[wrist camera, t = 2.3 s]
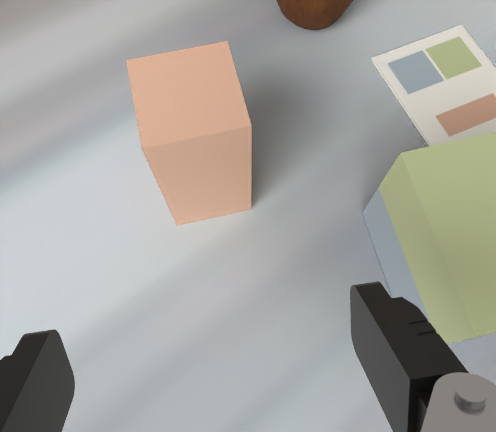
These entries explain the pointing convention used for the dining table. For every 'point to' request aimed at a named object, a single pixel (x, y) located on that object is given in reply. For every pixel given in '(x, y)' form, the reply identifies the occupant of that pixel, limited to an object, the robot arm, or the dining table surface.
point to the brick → (194, 130)
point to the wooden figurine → (313, 12)
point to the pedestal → (441, 234)
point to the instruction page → (443, 85)
